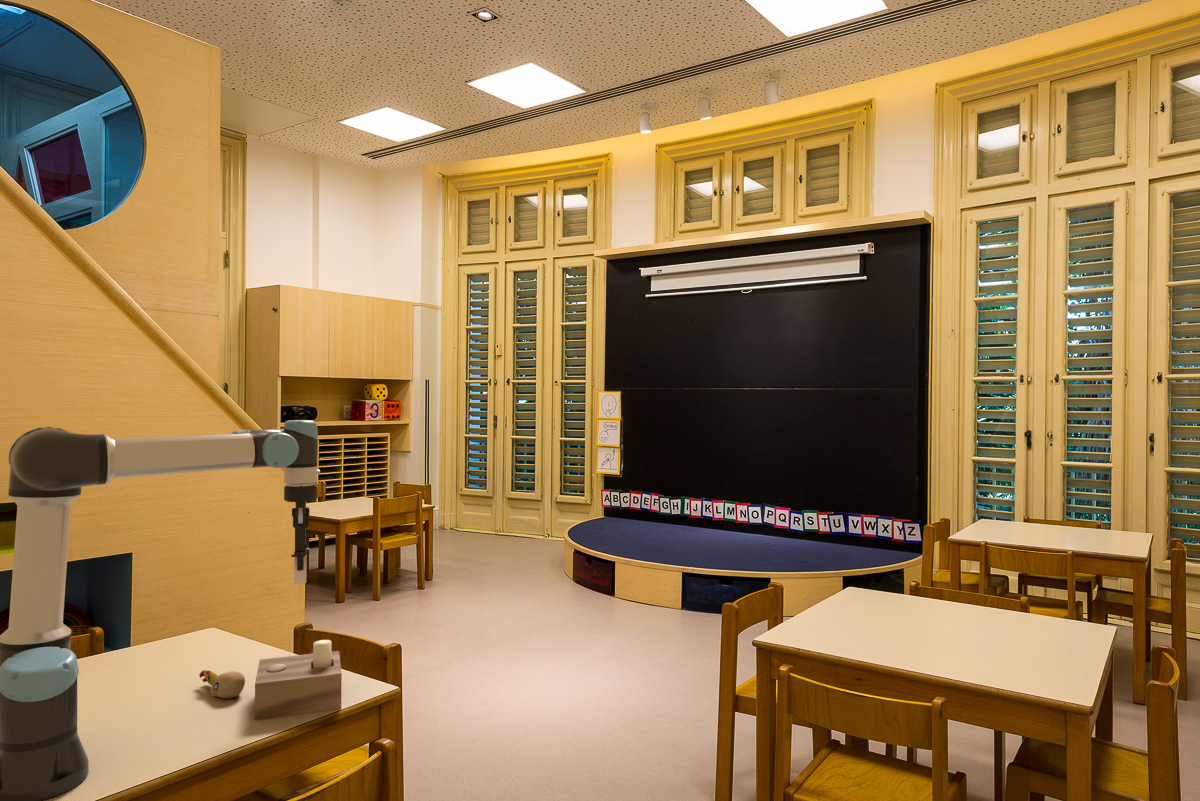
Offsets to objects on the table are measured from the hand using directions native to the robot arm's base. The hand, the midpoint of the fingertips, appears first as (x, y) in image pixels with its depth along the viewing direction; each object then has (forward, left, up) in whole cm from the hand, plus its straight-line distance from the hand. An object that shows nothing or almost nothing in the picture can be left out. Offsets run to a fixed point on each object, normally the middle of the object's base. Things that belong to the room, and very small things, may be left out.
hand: (300, 581), depth 181 cm
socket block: (-6, 0, -27) cm, 27 cm away
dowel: (-6, -5, -22) cm, 23 cm away
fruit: (+13, -5, -27) cm, 30 cm away
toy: (+6, +18, -27) cm, 33 cm away
